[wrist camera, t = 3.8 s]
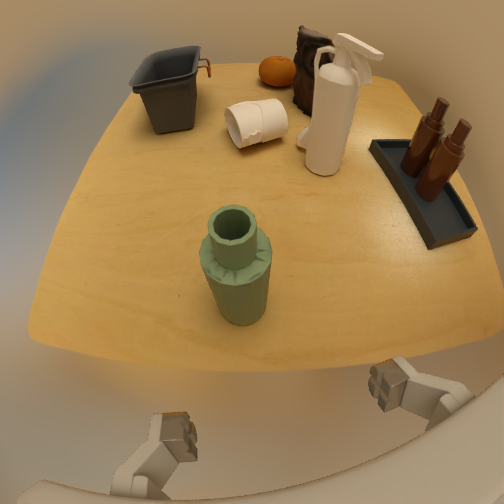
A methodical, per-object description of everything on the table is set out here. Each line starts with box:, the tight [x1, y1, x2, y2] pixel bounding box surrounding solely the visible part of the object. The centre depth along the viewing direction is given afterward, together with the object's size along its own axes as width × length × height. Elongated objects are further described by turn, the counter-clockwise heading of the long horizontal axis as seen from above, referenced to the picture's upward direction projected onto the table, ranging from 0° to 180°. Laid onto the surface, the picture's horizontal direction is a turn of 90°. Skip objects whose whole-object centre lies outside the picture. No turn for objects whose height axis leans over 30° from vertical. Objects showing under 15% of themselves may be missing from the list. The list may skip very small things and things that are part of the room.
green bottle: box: [199, 205, 272, 326], centre depth 27 cm, size 6×6×18 cm
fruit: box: [259, 56, 296, 86], centre depth 60 cm, size 10×10×8 cm
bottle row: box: [400, 97, 472, 202], centre depth 37 cm, size 11×5×18 cm, turn 13°
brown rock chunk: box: [292, 25, 335, 117], centre depth 49 cm, size 13×13×20 cm
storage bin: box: [129, 46, 211, 134], centre depth 50 cm, size 21×16×14 cm
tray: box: [369, 139, 478, 250], centre depth 43 cm, size 24×13×3 cm, turn 13°
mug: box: [225, 98, 288, 148], centre depth 48 cm, size 12×9×8 cm
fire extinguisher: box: [297, 33, 384, 176], centre depth 37 cm, size 7×12×25 cm, turn 33°
